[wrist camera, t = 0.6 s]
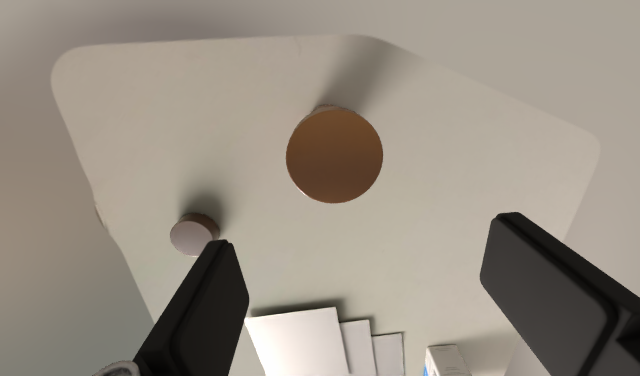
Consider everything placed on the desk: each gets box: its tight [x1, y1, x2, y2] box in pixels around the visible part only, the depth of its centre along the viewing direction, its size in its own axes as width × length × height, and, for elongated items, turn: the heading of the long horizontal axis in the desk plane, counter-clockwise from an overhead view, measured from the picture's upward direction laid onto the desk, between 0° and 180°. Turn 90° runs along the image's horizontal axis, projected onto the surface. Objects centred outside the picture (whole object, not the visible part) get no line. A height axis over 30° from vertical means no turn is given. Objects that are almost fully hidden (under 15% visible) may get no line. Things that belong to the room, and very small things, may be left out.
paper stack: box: [244, 307, 404, 376], centre depth 42 cm, size 23×25×1 cm
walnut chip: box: [170, 213, 219, 257], centre depth 32 cm, size 5×5×2 cm
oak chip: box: [286, 107, 383, 203], centre depth 16 cm, size 6×6×2 cm
